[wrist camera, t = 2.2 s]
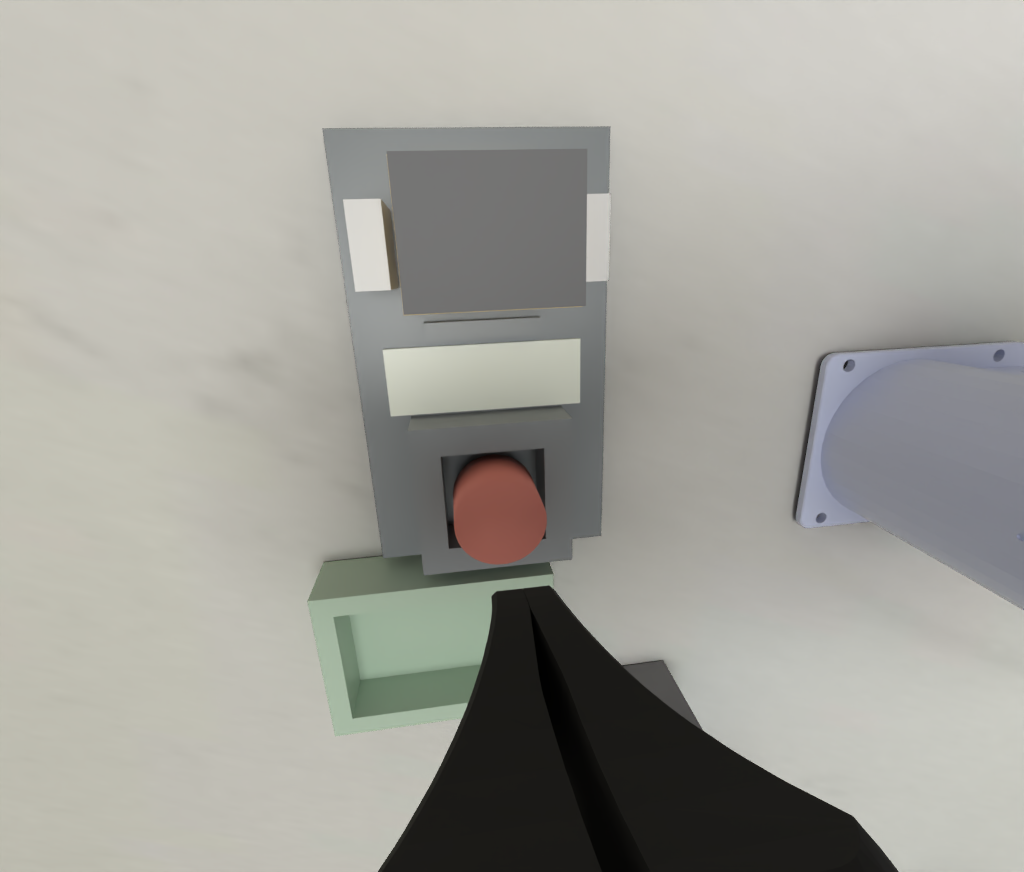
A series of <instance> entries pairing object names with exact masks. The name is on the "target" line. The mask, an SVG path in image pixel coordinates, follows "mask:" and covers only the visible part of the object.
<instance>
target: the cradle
mask: <svg viewBox="0 0 1024 872" xmlns="http://www.w3.org/2000/svg"><path fill="white" fill-rule="evenodd" d="M322 129H323V136H324V143H325V151H326V158H327V165H328V172H329V179H330V186H331V193H332V200H333V207H334V214H335V221H336V228H337V235H338V242H339V249H340V256H341V264H342V271H343V278H344V285H345V292H346V299H347V306H348V313H349V320H350V327H351V334H352V341H353V348H354V355H355V362H356V370H357V377H358V384H359V391H360V398H361V405H362V412H363V419H364V426H365V433H366V440H367V447H368V454H369V461H370V468H371V476H372V483H373V490H374V497H375V504H376V511H377V518H378V525H379V532H380V539H381V546H382V553H383V558H391V557H400V556H410V555H420V554H421V555H422V564H423V573H424V575H433V574H442V573H451V572H460V571H470V570H479V569H488V568H497V567H507V566H516V565H525V564H534V563H544V562H553V561H562V560H571V559H572V539H574V538H584V537H594V536H601V515H602V471H603V427H604V383H605V339H606V294H607V281H609V250H610V208H611V193H609V162H610V127H470V128H322ZM517 149H587V247H586V306H582V307H568V308H547V309H527V310H507V311H486V312H466V313H445V314H425V315H405V316H404V315H403V305H402V296H401V286H400V277H399V268H398V258H397V249H396V239H395V230H394V221H393V211H392V202H391V193H390V183H389V174H388V164H387V155H386V154H387V152H386V151H433V150H517ZM493 454H498V455H505V456H509V457H511V458H514V459H516V460H517V461H519V462H520V463H522V464H523V465H524V466H525V467H526V469H527V470H528V471H529V473H530V475H531V477H532V479H533V482H534V484H535V486H536V489H537V491H538V493H539V495H540V498H541V500H542V502H543V505H544V507H545V510H546V515H547V525H546V530H545V533H544V536H543V538H542V540H541V541H540V543H539V544H538V546H537V547H536V548H535V549H534V550H533V551H532V552H531V553H530V554H528V555H527V556H525V557H524V558H522V559H520V560H517V561H515V562H512V563H508V564H498V565H497V564H488V563H484V562H481V561H478V560H476V559H474V558H473V557H471V556H470V555H468V554H467V553H466V552H465V551H464V550H463V549H462V547H461V546H460V545H459V543H458V541H457V538H456V535H455V530H454V508H453V488H454V483H455V481H456V478H457V476H458V475H459V473H460V472H461V470H462V469H463V468H464V467H465V466H466V465H467V464H469V463H470V462H471V461H473V460H475V459H477V458H479V457H482V456H486V455H493Z"/></svg>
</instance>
